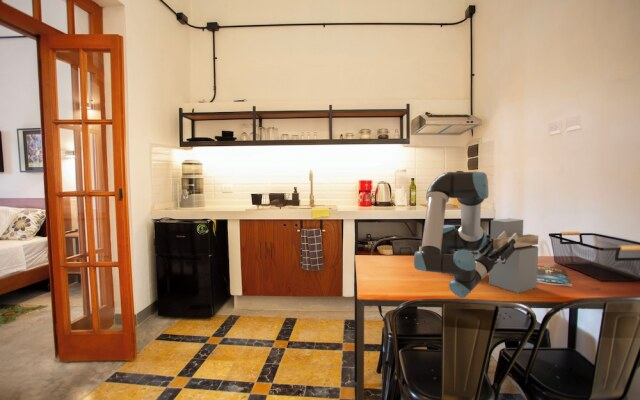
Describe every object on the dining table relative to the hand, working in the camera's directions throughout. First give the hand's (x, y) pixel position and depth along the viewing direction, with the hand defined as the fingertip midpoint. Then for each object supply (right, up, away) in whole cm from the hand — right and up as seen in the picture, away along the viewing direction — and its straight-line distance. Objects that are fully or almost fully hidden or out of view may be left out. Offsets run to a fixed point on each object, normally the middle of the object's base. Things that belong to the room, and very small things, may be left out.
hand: (510, 234), depth 141 cm
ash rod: (+4, -5, +2) cm, 7 cm away
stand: (+6, -24, +9) cm, 27 cm away
